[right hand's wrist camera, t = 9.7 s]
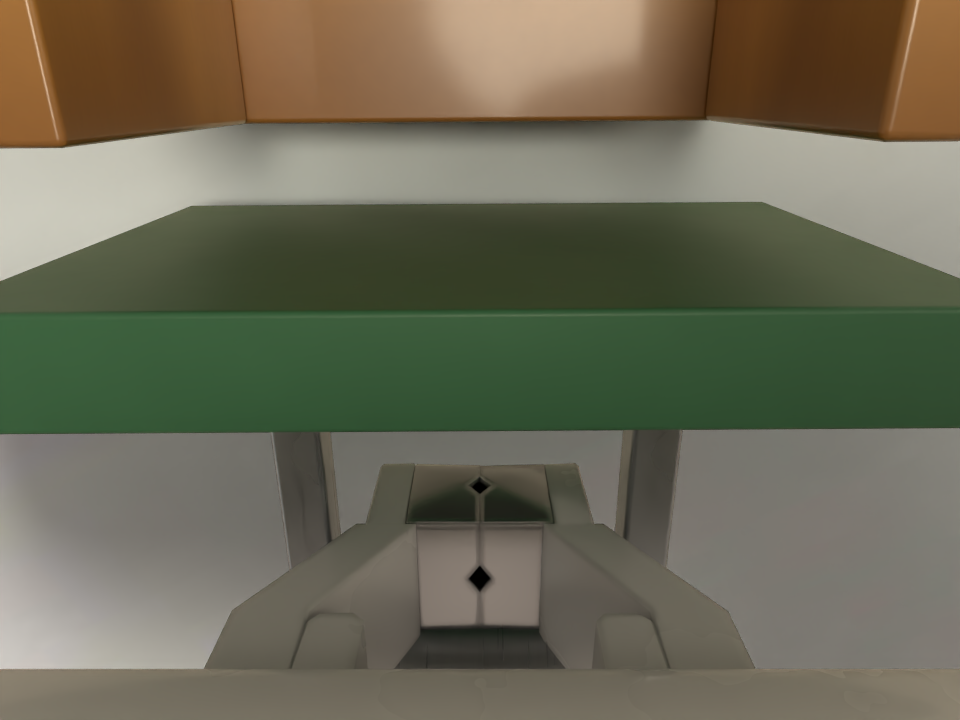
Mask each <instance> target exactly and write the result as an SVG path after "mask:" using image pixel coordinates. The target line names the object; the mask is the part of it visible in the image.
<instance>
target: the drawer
mask: <svg viewBox="0 0 960 720" xmlns="http://www.w3.org/2000/svg"><path fill="white" fill-rule="evenodd" d="M685 120H711V121H717V122H725V123H734V124H742V125H750V126H758V127H767V128H775V129H783V130H791V131H800V132H808V133H816V134H824V135H832V136H841V137H849V138H857V139H865V140H874V141H882V142H933V141H960V0H0V148H65V147H73V146H80V145H88V144H95V143H103V142H110V141H118V140H126V139H133V138H141V137H148V136H156V135H163V134H171V133H178V132H186V131H194V130H201V129H209V128H216V127H224V126H231V125H239V124H269V123H408V122H547V121H685ZM878 428H960V279H959V278H957V277H954V276H952V275H949V274H947V273H944V272H941V271H939V270H936V269H934V268H931V267H928V266H926V265H923V264H921V263H918V262H916V261H913V260H910V259H908V258H905V257H903V256H900V255H897V254H895V253H892V252H890V251H887V250H885V249H882V248H879V247H877V246H874V245H872V244H869V243H866V242H864V241H861V240H859V239H856V238H854V237H851V236H848V235H846V234H843V233H841V232H838V231H835V230H833V229H830V228H828V227H825V226H823V225H820V224H817V223H815V222H812V221H810V220H807V219H804V218H802V217H799V216H797V215H794V214H792V213H789V212H786V211H784V210H781V209H779V208H776V207H773V206H771V205H768V204H766V203H763V202H692V203H549V204H406V205H263V206H190V207H188V208H185V209H183V210H180V211H178V212H175V213H173V214H170V215H167V216H165V217H162V218H160V219H157V220H155V221H152V222H150V223H147V224H145V225H142V226H140V227H137V228H134V229H132V230H129V231H127V232H124V233H122V234H119V235H117V236H114V237H112V238H109V239H107V240H104V241H101V242H99V243H96V244H94V245H91V246H89V247H86V248H84V249H81V250H79V251H76V252H73V253H71V254H68V255H66V256H63V257H61V258H58V259H56V260H53V261H51V262H48V263H46V264H43V265H40V266H38V267H35V268H33V269H30V270H28V271H25V272H23V273H20V274H18V275H15V276H13V277H10V278H7V279H5V280H2V281H0V434H95V433H252V432H271V439H272V447H273V454H274V461H275V468H276V476H277V483H278V490H279V497H280V505H281V512H282V519H283V526H284V534H285V541H286V548H287V555H288V562H289V570H291V569H292V568H294V567H295V566H297V565H298V564H300V563H301V562H302V561H304V560H305V559H307V558H308V557H310V556H311V555H312V554H314V553H315V552H317V551H318V550H320V549H321V548H323V547H324V546H325V545H327V544H328V543H330V542H331V541H333V540H334V539H335V538H337V537H338V536H340V535H341V531H340V521H339V511H338V501H337V491H336V481H335V471H334V461H333V451H332V442H331V432H408V431H565V430H623V437H622V450H621V462H620V474H619V487H618V499H617V511H616V523H615V533H617V534H618V535H620V536H621V537H623V538H624V539H625V540H627V541H628V542H630V543H631V544H633V545H634V546H635V547H637V548H638V549H640V550H641V551H643V552H644V553H645V554H647V555H648V556H650V557H651V558H653V559H654V560H655V561H657V562H658V563H660V564H661V565H663V566H664V567H665V568H666V566H667V557H668V549H669V540H670V532H671V523H672V515H673V506H674V498H675V490H676V481H677V473H678V464H679V456H680V447H681V439H682V430H722V429H878ZM394 669H566V668H565V667H564V666H563V664H562V663H561V662H560V661H559V659H558V658H557V657H556V656H555V654H554V653H553V652H552V651H551V649H550V648H549V647H548V646H547V644H546V643H545V642H544V641H543V639H542V637H541V635H540V633H539V630H535V629H448V630H420V636H419V638H418V639H417V641H416V642H415V643H414V644H413V646H412V647H411V648H410V649H409V651H408V652H407V653H406V654H405V656H404V657H403V658H402V659H401V661H400V662H399V663H398V664H397V666H396V667H395V668H394Z"/></svg>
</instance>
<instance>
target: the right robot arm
mask: <svg viewBox="0 0 960 720" xmlns="http://www.w3.org/2000/svg"><path fill="white" fill-rule="evenodd" d="M448 629H535V630H539V633H540V635H541V637H542V639H543V641H544V642H545V643H546V644H547V646H548V647H549V648H550V649H551V651H552V652H553V653H554V654H555V656H556V657H557V658H558V659H559V661H560V662H561V663H562V664H563V666H564V667H565V668H566V669H394V668H395V667H396V666H397V664H398V663H399V662H400V661H401V659H402V658H403V657H404V656H405V654H406V653H407V652H408V651H409V649H410V648H411V647H412V646H413V644H414V643H415V642H416V641H417V639H418V638H419V636H420V630H448ZM0 720H960V669H755V667H754V665H753V663H752V661H751V659H750V656H749V654H748V652H747V650H746V648H745V646H744V644H743V642H742V640H741V637H740V635H739V633H738V631H737V629H736V627H735V625H734V623H733V621H732V619H731V616H730V614H729V612H728V611H727V610H725V609H724V608H722V607H721V606H720V605H718V604H717V603H715V602H714V601H712V600H711V599H710V598H708V597H707V596H705V595H704V594H702V593H701V592H700V591H698V590H697V589H695V588H694V587H692V586H691V585H690V584H688V583H687V582H685V581H684V580H683V579H681V578H680V577H678V576H677V575H675V574H674V573H673V572H671V571H670V570H668V569H667V568H665V567H664V566H663V565H661V564H660V563H658V562H657V561H655V560H654V559H653V558H651V557H650V556H648V555H647V554H645V553H644V552H643V551H641V550H640V549H638V548H637V547H635V546H634V545H633V544H631V543H630V542H628V541H627V540H625V539H624V538H623V537H621V536H620V535H618V534H617V533H615V532H614V531H613V530H611V529H610V528H608V527H607V526H605V525H604V524H594V522H593V519H592V515H591V511H590V507H589V504H588V500H587V496H586V493H585V489H584V485H583V481H582V478H581V474H580V470H579V467H578V465H577V464H575V463H569V464H545V465H544V464H535V465H493V466H480V465H442V464H417V465H415V464H414V463H411V464H384V465H383V466H382V467H381V468H380V472H379V475H378V479H377V483H376V487H375V490H374V494H373V498H372V502H371V505H370V509H369V513H368V517H367V521H366V524H356V525H354V526H353V527H351V528H350V529H348V530H347V531H345V532H344V533H343V534H341V535H340V536H338V537H337V538H335V539H334V540H333V541H331V542H330V543H328V544H327V545H325V546H324V547H323V548H321V549H320V550H318V551H317V552H315V553H314V554H312V555H311V556H310V557H308V558H307V559H305V560H304V561H302V562H301V563H300V564H298V565H297V566H295V567H294V568H292V569H291V570H290V571H288V572H287V573H285V574H284V575H282V576H281V577H279V578H278V579H277V580H275V581H274V582H272V583H271V584H269V585H268V586H267V587H265V588H264V589H262V590H261V591H259V592H258V593H257V594H255V595H254V596H252V597H251V598H249V599H248V600H246V601H245V602H244V603H242V604H241V605H239V606H238V607H236V608H235V609H234V610H232V612H231V614H230V616H229V618H228V620H227V622H226V624H225V626H224V628H223V630H222V632H221V635H220V637H219V639H218V641H217V643H216V645H215V647H214V649H213V651H212V653H211V655H210V657H209V659H208V661H207V663H206V666H205V668H204V669H0Z"/></svg>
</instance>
